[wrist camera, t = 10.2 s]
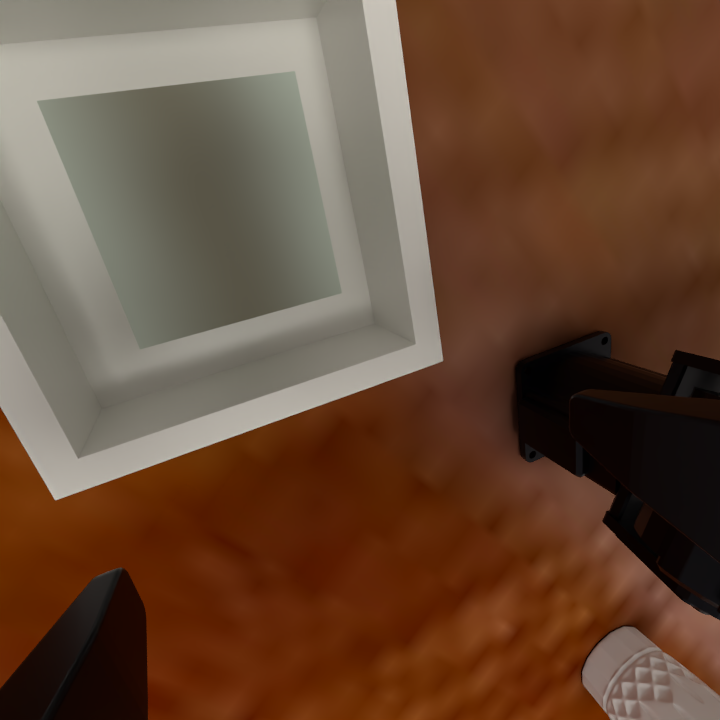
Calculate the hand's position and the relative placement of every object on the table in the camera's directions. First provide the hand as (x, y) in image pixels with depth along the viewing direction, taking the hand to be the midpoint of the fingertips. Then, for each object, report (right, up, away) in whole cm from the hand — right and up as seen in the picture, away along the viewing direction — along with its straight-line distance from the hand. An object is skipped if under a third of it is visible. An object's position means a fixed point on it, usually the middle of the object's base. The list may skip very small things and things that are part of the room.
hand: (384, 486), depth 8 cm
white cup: (+21, -24, +29) cm, 43 cm away
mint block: (-6, +7, +7) cm, 12 cm away
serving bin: (-6, +8, +8) cm, 12 cm away
